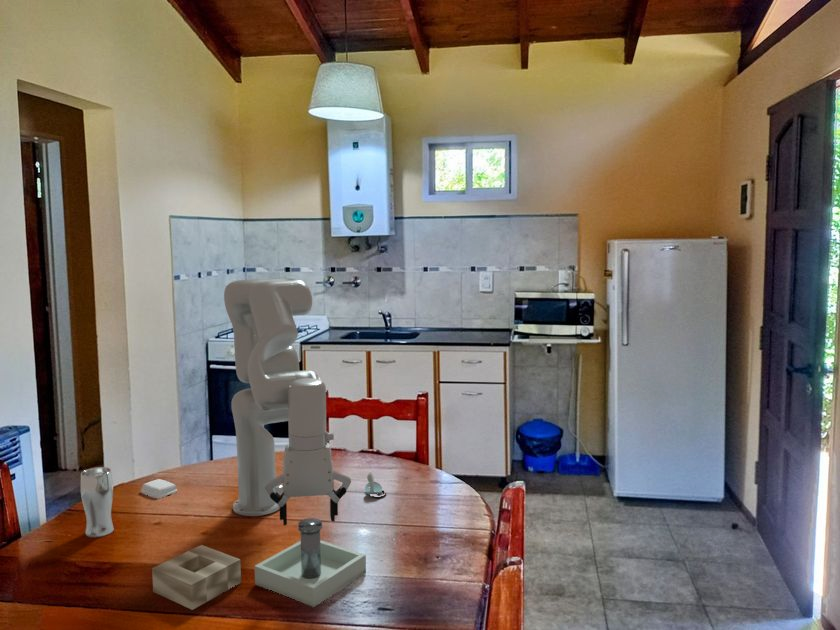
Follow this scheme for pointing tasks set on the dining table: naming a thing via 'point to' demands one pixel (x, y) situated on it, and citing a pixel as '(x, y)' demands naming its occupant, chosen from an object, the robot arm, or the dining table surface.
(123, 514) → the dining table surface
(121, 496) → the dining table surface
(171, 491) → the soap
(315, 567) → the steel pin
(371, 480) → the pacifier
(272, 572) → the tray
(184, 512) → the dining table surface
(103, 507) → the beer glass
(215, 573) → the pin block
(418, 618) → the dining table surface
